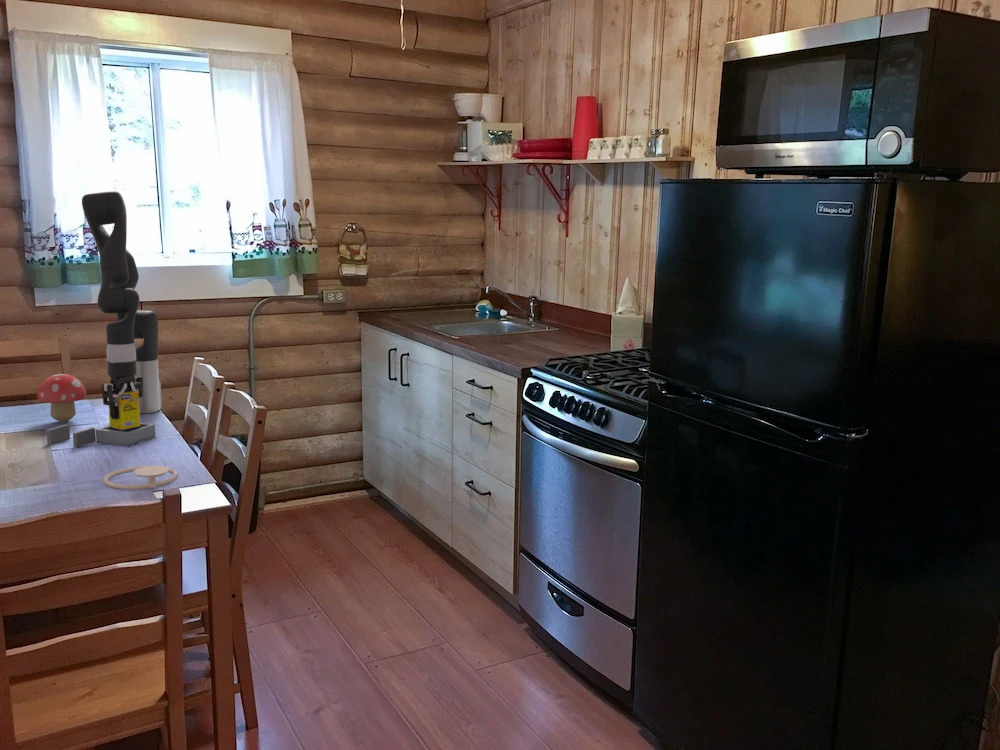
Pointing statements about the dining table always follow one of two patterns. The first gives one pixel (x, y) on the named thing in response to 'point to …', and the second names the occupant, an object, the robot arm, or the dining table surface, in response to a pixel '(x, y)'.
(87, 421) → the dining table surface
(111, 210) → the robot arm
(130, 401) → the supplement box
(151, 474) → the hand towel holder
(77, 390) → the decorative mushroom
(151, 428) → the tray
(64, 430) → the grey blocks
